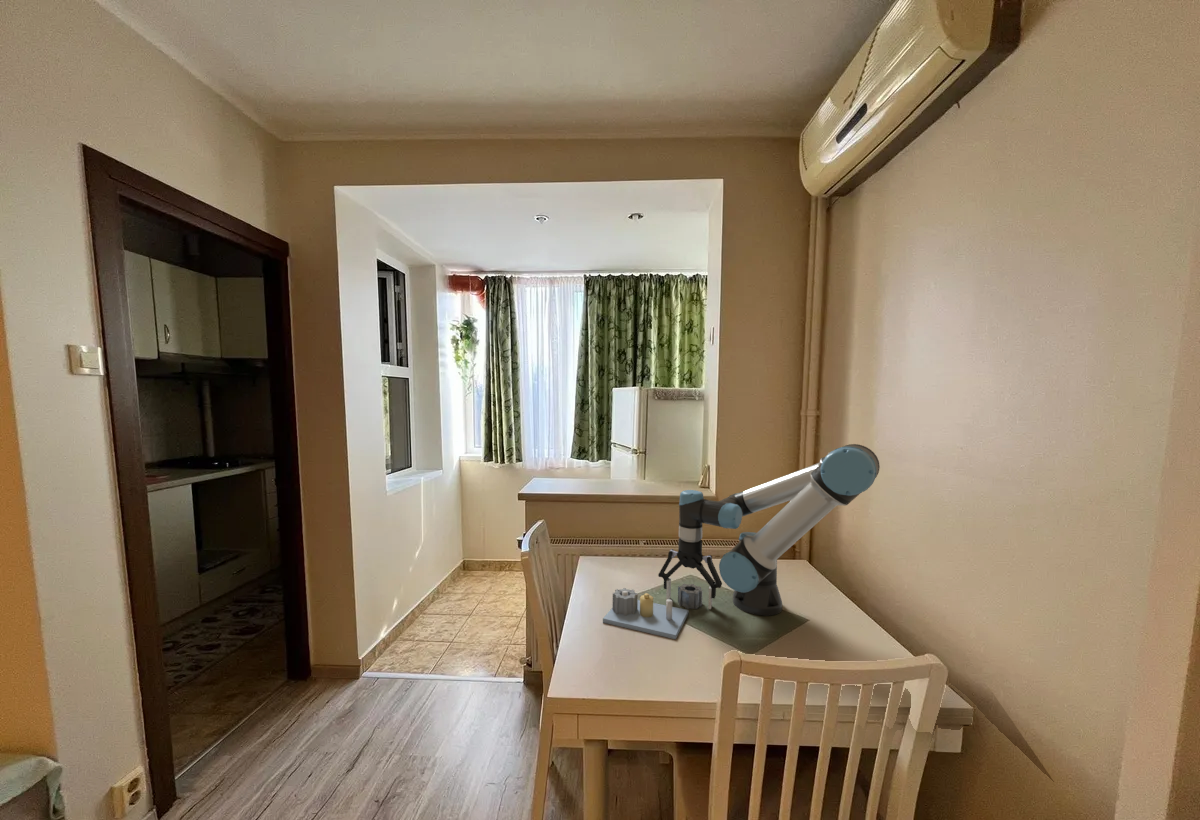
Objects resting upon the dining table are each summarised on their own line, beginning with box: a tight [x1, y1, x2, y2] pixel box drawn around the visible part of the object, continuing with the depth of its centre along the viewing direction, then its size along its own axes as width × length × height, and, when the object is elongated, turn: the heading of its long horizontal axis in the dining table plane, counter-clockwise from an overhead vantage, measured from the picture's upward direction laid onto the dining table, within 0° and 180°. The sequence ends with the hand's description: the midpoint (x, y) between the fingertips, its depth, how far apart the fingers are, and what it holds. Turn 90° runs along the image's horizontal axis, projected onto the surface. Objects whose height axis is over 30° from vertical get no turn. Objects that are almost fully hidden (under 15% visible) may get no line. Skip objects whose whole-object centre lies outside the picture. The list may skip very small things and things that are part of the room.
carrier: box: [602, 587, 689, 640], centre depth 133 cm, size 22×16×7 cm
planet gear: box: [677, 583, 703, 610], centre depth 142 cm, size 8×8×5 cm
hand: (688, 603), depth 142 cm, fingers open, 13 cm apart
